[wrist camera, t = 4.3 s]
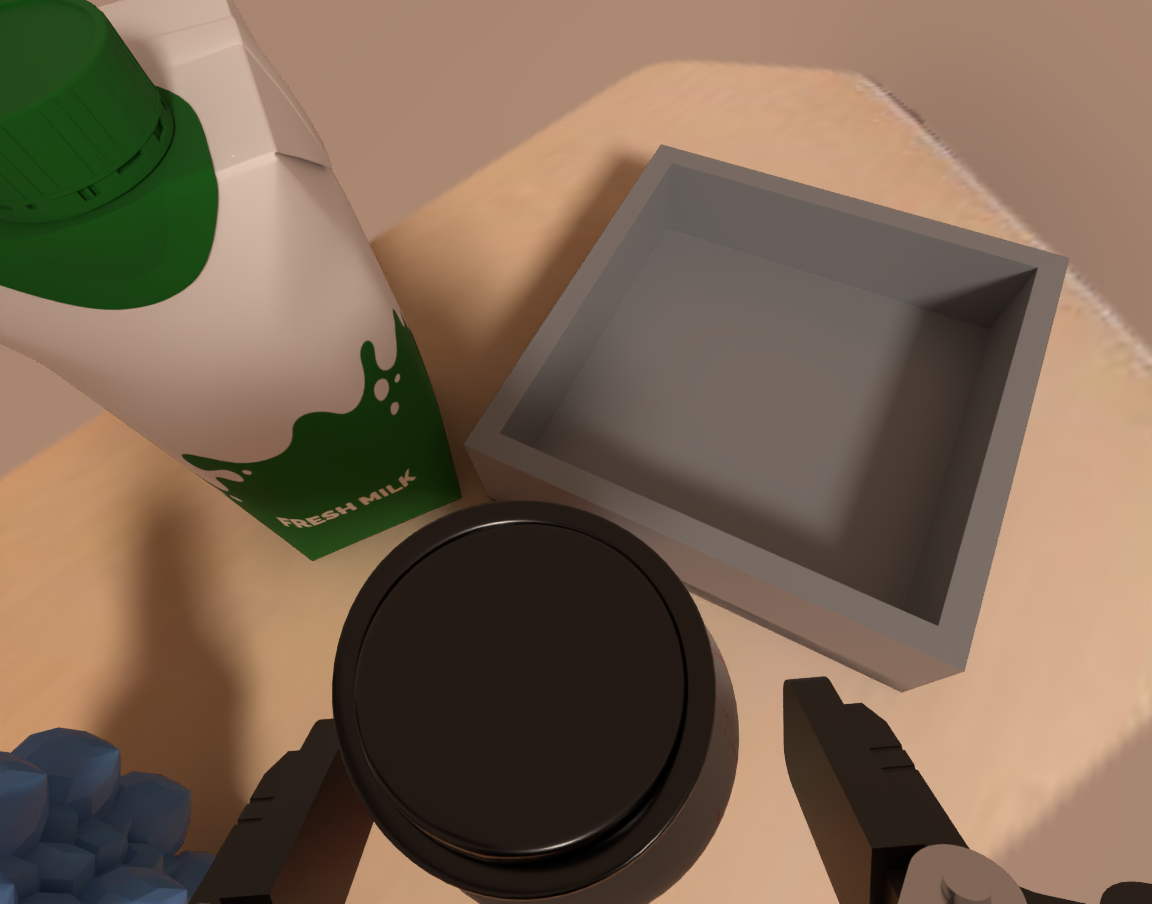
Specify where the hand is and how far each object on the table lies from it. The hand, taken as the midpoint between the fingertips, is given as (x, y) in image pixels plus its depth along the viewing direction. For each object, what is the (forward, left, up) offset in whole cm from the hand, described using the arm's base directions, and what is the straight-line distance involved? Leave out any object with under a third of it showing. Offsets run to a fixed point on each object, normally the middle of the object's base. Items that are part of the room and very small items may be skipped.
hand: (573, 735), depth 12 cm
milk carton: (-15, +6, -13) cm, 21 cm away
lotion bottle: (0, 0, -13) cm, 13 cm away
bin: (0, +16, -13) cm, 21 cm away
